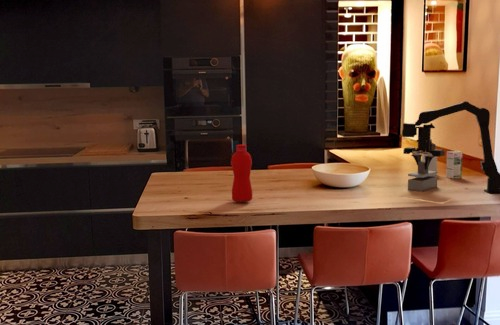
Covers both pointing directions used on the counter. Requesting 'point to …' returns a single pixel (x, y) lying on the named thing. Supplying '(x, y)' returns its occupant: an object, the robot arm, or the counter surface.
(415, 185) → the tub
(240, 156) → the water bottle
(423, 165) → the lid
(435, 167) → the supplement box
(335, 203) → the counter surface
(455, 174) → the syrup box
